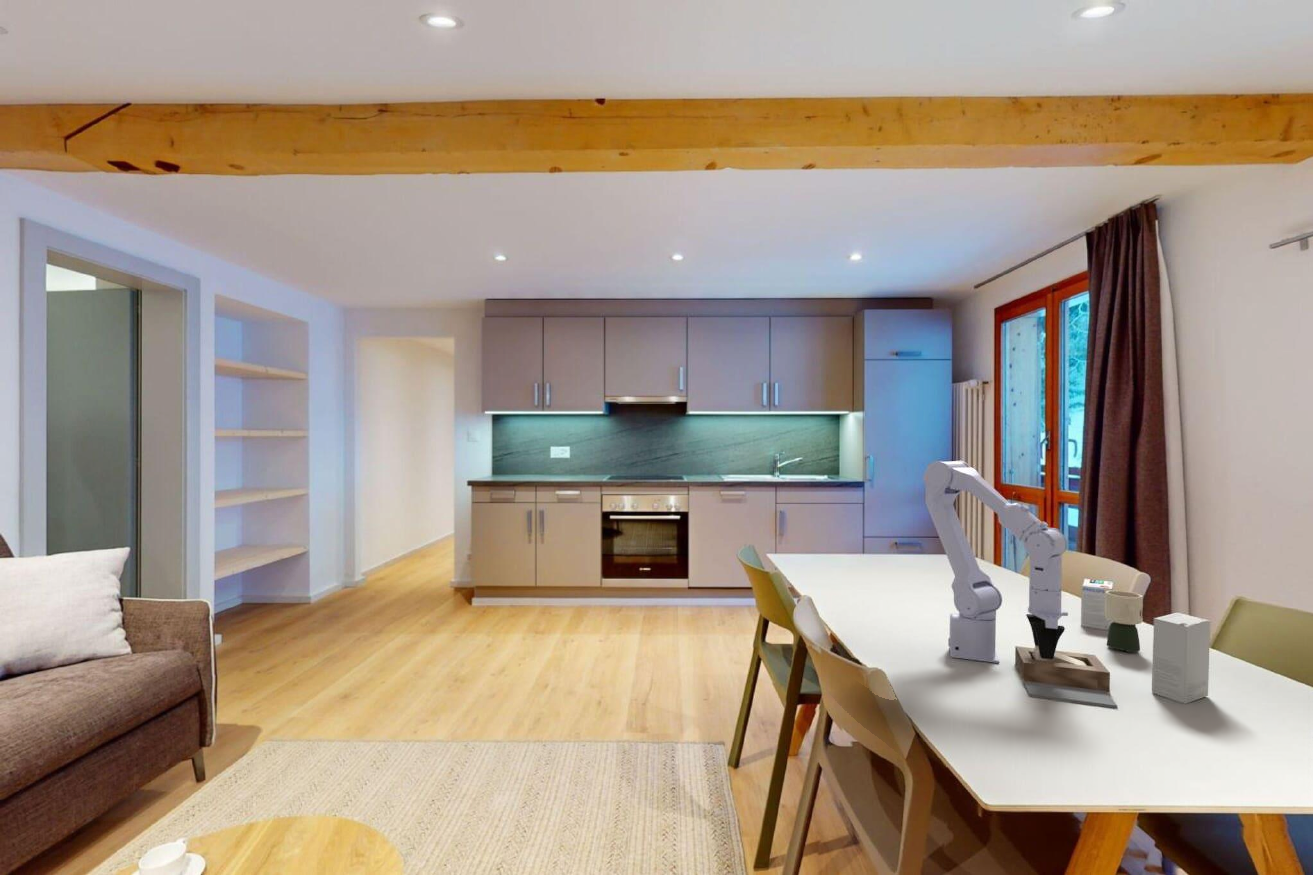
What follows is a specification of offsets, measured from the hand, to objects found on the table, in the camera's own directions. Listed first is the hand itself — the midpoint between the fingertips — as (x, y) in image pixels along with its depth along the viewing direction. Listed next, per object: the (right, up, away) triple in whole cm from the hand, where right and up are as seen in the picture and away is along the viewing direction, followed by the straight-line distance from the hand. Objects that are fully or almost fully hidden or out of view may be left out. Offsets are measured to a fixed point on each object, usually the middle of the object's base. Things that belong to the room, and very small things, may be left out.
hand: (1044, 654), depth 135 cm
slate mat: (-2, -4, -10) cm, 11 cm away
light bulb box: (+37, -5, +38) cm, 53 cm away
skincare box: (+20, -5, -10) cm, 23 cm away
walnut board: (+3, -4, -1) cm, 5 cm away
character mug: (+28, -5, +17) cm, 33 cm away
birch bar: (+2, -2, -1) cm, 3 cm away
